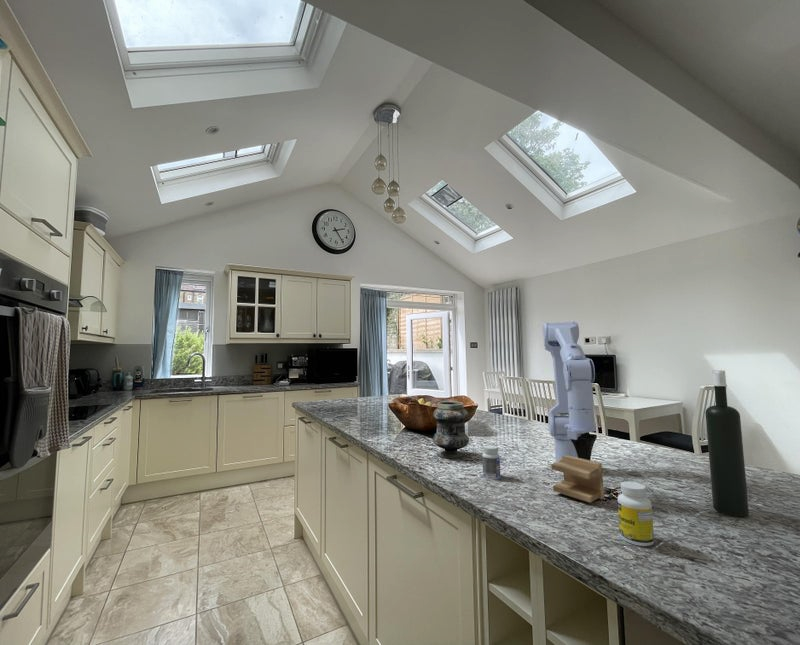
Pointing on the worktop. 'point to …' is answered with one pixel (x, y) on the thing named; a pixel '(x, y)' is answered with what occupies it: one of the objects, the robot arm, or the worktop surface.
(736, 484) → the wine bottle
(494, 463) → the pill bottle
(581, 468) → the tan notched block
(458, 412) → the dark grey vase
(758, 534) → the worktop surface
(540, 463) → the worktop surface
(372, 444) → the worktop surface
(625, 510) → the supplement bottle
